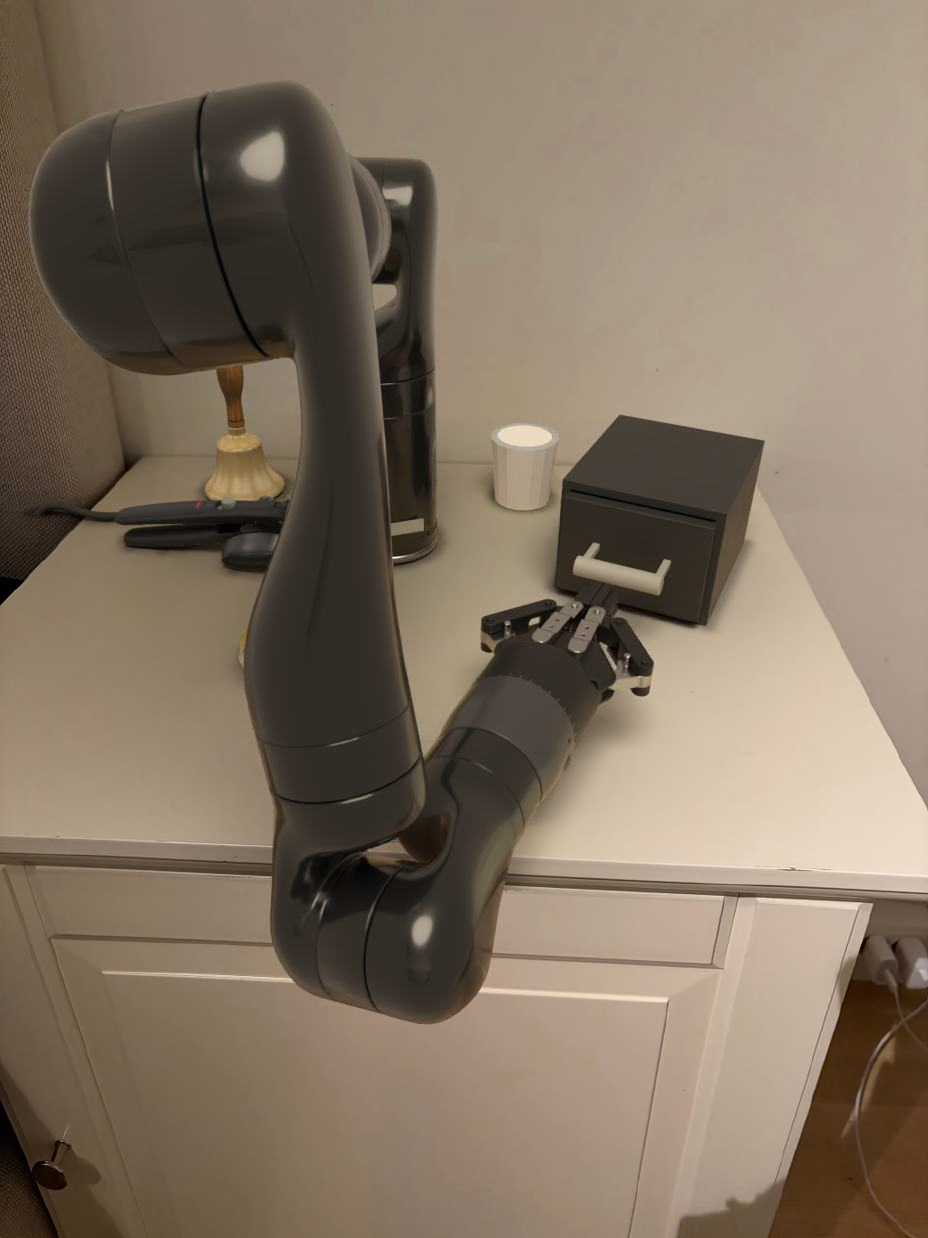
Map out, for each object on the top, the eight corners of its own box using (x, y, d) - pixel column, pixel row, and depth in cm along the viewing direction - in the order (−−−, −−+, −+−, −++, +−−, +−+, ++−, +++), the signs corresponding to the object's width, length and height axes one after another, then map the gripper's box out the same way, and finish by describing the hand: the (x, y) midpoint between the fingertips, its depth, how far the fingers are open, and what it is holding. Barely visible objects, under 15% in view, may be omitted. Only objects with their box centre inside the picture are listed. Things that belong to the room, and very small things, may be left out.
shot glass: (550, 516, 93) (554, 452, 90) (483, 509, 95) (484, 445, 91) (558, 486, 99) (563, 424, 95) (494, 480, 100) (497, 419, 96)
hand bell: (206, 474, 101) (182, 326, 92) (284, 468, 102) (267, 322, 93) (202, 509, 94) (176, 354, 85) (286, 503, 95) (268, 349, 86)
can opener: (313, 541, 89) (308, 488, 86) (290, 579, 83) (284, 523, 80) (140, 524, 91) (128, 472, 88) (105, 560, 86) (92, 506, 82)
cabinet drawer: (683, 651, 73) (701, 555, 68) (537, 612, 78) (543, 519, 73) (734, 544, 87) (751, 457, 82) (608, 516, 92) (617, 432, 87)
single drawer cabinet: (706, 626, 78) (727, 513, 72) (554, 587, 83) (562, 479, 77) (743, 542, 90) (764, 440, 84) (608, 513, 94) (619, 414, 88)
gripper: (626, 712, 53) (698, 569, 66) (418, 652, 57) (524, 529, 70) (612, 807, 57) (683, 655, 70) (420, 743, 61) (520, 612, 74)
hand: (603, 592), depth 70 cm, fingers closed
